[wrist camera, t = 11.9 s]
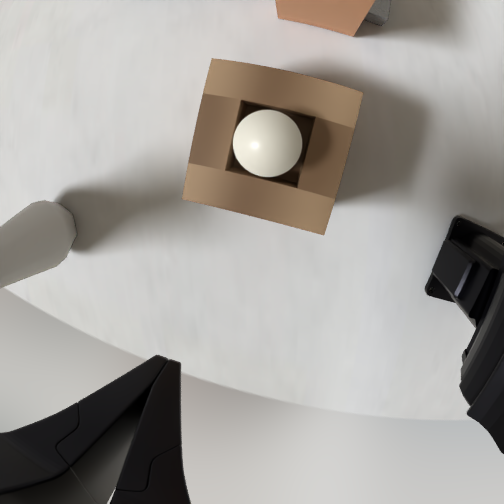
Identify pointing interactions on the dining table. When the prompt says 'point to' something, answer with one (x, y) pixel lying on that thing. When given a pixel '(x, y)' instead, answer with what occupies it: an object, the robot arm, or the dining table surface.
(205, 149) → the cabinet
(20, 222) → the salt shaker
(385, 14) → the rail
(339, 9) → the block
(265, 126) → the plunger
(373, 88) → the dining table surface
